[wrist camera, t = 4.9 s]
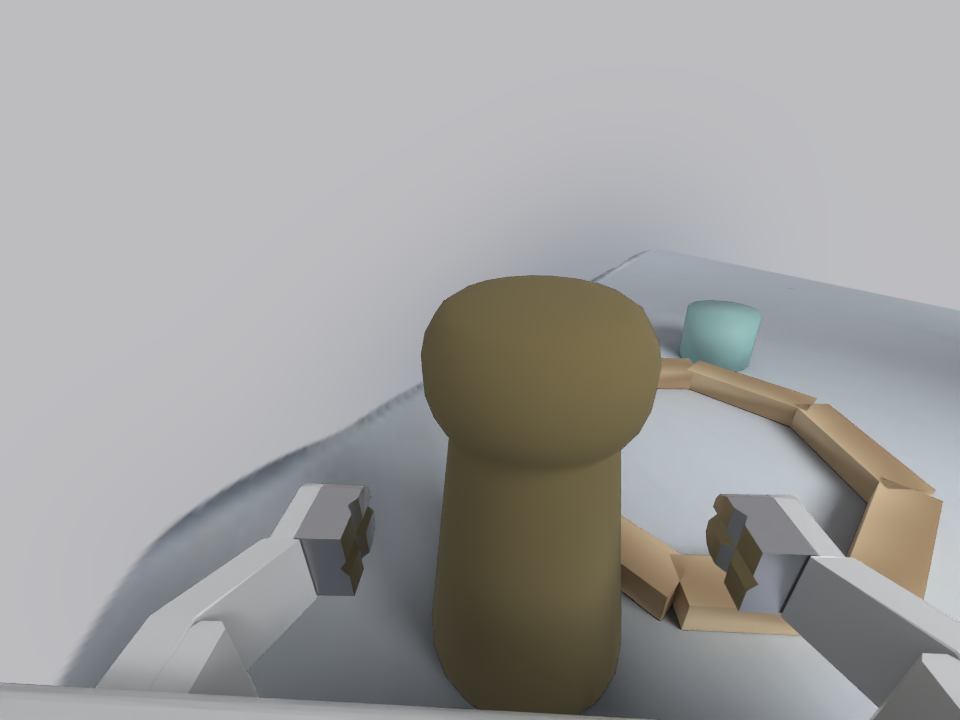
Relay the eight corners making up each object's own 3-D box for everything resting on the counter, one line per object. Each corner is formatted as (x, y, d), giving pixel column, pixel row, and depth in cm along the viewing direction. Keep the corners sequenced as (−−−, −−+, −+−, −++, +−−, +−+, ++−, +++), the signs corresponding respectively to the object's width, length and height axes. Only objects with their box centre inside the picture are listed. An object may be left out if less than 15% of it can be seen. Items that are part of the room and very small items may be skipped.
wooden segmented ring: (767, 375, 27) (772, 359, 27) (1075, 648, 12) (1101, 623, 12) (511, 372, 28) (511, 356, 28) (515, 621, 13) (516, 598, 13)
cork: (468, 521, 17) (456, 249, 12) (623, 559, 15) (683, 261, 10) (398, 682, 12) (327, 327, 7) (617, 766, 10) (732, 375, 5)
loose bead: (728, 344, 32) (739, 299, 30) (762, 371, 28) (776, 321, 26) (669, 345, 32) (677, 301, 30) (694, 372, 28) (705, 323, 26)
